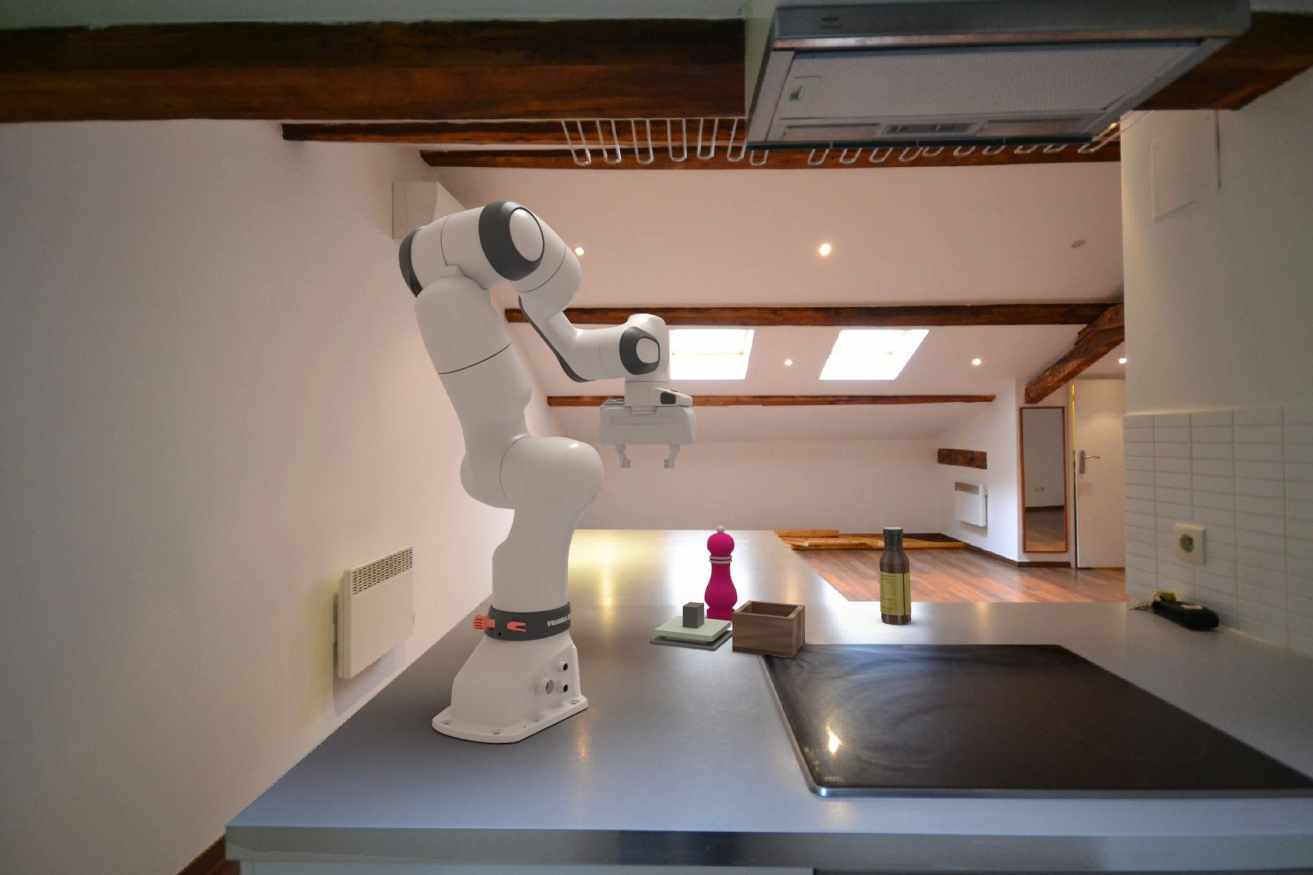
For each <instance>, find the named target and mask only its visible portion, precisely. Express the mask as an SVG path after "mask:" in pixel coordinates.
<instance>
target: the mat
mask: <svg viewBox="0 0 1313 875" xmlns="http://www.w3.org/2000/svg"><path fill="white" fill-rule="evenodd" d="M730 639H732V629H727V630H726V631H725V632H723V633H722V634H721V635H720V636H718V637H717V638H716V639H715V640H714V641H709V642H708V643H698V642H690V641H681V640H672V639H666V636H660V635H655V636H654V637H653V638H651V639H650V640H649V644H654V645H660V646H661V645H662V646H669V647H677V648H685V649H686V648H687V649H693V650H694V649H695V650H700V651H701V650H702V651H711V652H716V651H717V650H718V649H719V648H720V647H722V646H723V645H724V644H725V643H726V642H728V641H729V640H730Z"/></svg>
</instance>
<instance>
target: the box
mask: <svg viewBox="0 0 1313 875" xmlns="http://www.w3.org/2000/svg"><path fill="white" fill-rule="evenodd" d="M731 628H732V629H731V630H732V637H731V641H732V643H731V645H732V647H731V649H732V650H731V652H734V653H739V654H740V653H743V654H750V655H759V656H762V655H761V654H771V655H780V656H786V657H792V658H794V657H795V656H796V655H797V653H798V652H799V651H800V649H801V648H802V647H803V645H804V644H805V643H806V605H805V604H793V603H785V602H783V603H782V602H781V603H780V602H771V601H761V600H747V601H746V602H744V603H743V604H742V605H740V606H739V607H738V608H736V609H735V611H734V612H733V613H732V620H731ZM801 646H802V647H801ZM800 647H801V648H800ZM799 648H800V649H799ZM798 650H799V651H798ZM797 651H798V652H797ZM796 652H797V653H796ZM795 654H796V655H795ZM794 655H795V656H794ZM793 656H794V657H793Z"/></svg>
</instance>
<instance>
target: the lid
mask: <svg viewBox="0 0 1313 875" xmlns="http://www.w3.org/2000/svg"><path fill="white" fill-rule="evenodd" d="M730 627H731V628H732V620H731V621H725V620H715V619H708V618H705V603H704V602H697V601H695V602H694V601H689V602H687V603H686V604H684V605H682V615H676V616H674V617H672V618H671V619H669V620H667V621H665V622H664V623H663V624H661V625H660V626H658V627H656V628H654V629H653V632H654V633H653V634H654V635H655V636H658V635H660V636H666V639H672V640H681V641H690V642H698V643H708V642H709V641H714V640H715V639H716V638H717V637H718V636H720V635H721V634H722V633H723V632H725V631H726V630H729V629H730Z"/></svg>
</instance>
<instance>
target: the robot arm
mask: <svg viewBox="0 0 1313 875" xmlns="http://www.w3.org/2000/svg"><path fill="white" fill-rule="evenodd" d="M398 265H399V268H400V273H401V275H402V277H403V280H404V283H405V284H406V286H407V287H408V289H409V291H411V293H412V294H413V296H414V297H415V300H414V305H413V306H414V308H413V309H414V313H415V314H414V315H415V318H416V321H417V322H416V323H417V326H418V329H419V332H420V335H421V338H422V340H423V344H424V348H425V349H426V352H427V354H428V356H429V359H430V362H431V363H432V365H433V367H434V369H435V372H436V374H437V376H438V378H439V379H440V382H441V384H442V386H443V388H444V390H445V392H446V394H447V396H448V398H449V401H450V402H451V404H452V407H453V409H454V411H455V413H456V416H457V418H458V421H459V423H460V427H461V430H462V431H461V432H462V435H463V436H462V437H463V441H464V445H465V446H464V448H465V449H464V450H465V454H464V455H463V458H462V460H461V463H460V468H459V476H460V477H459V478H460V481H461V482H460V483H461V485H462V487H463V490H464V492H466V494H467V495H468V496H470V497H471V498H472V499H473V500H476V501H478V502H480V503H482V504H485V505H487V506H489V507H491V508H492V507H493V508H495V509H496V508H497V509H504V510H505V509H507V510H514V511H513V512H514V513H513V519H512V522H511V527H510V529H509V533H508V534H507V537H506V538H505V540H504V541H502V542H501V543H499V545H497V546H496V548H495V549H494V551H493V554H492V559H491V574H492V575H491V583H492V584H491V588H492V589H491V590H492V591H491V598H492V599H491V605H490V606H489V609H488V612H487V615H485V616H484V615H481V614H477V615H475V616H474V617H473V619H472V628H473V629H474V630H477V631H478V630H479V631H481V630H483V634H484V636H483V637H482V639H481V641H480V642H479V643H478V644H477V646H476V647H475V649H474V651H473V652H472V653H471V654H470V656H469V657H468V658H467V660H466V661H465V663H464V664H463V666H462V667H461V668H460V670H459V671H458V673H457V674H456V675H455V677H454V679H453V683H452V688H451V696H450V697H451V698H450V700H451V701H450V705H449V706H447V707H446V708H444V709H443V710H442V711H441V712H439V713H438V714H437V715H435V717H433V718H432V722H431V725H432V727H433V729H434V730H436V731H437V732H440V734H444V735H446V736H450V737H454V738H458V739H462V740H468V741H473V742H480V743H491V744H492V743H493V744H494V743H495V744H499V743H501V744H502V743H506V744H507V743H515V742H519V741H521V740H523V739H525V738H528V737H529V736H531V735H534V734H536V733H538V732H541V731H542V730H544V729H546V728H547V727H550V726H552V725H554V724H556V723H558V722H561V721H562V720H564V719H566V718H569V717H571V716H573V715H575V714H576V713H579V712H581V711H584V710H585V709H587V708H588V707H589V706H588V705H589V704H588V699H587V697H586V696H584V694H583V695H582V693H581V690H582V689H581V679H580V668H579V657H578V649H577V647H576V644H574V642H573V640H572V637H571V634H570V631H569V628H570V627H571V626H572V625H571V624H572V621H571V620H572V619H571V618H572V610H571V603H570V601H569V600H568V590H569V588H568V582H569V581H568V580H569V578H568V577H569V575H568V574H569V558H570V557H569V554H570V550H571V549H570V548H571V544H572V540H573V537H574V534H575V530H576V528H577V525H578V523H579V521H580V519H581V517H582V516H583V514H584V513H585V512H586V511H587V509H589V507H591V506H592V505H593V504H594V503H595V502H596V500H597V499H598V498H599V496H600V494H601V492H602V489H603V487H604V481H605V468H604V464H603V460H602V458H601V456H600V454H599V452H598V451H597V450H596V449H595V448H594V447H593V446H592V445H590V444H589V443H587V442H583V441H580V440H576V439H573V438H569V437H566V436H534V435H532V433H531V432H530V431H529V429H528V425H527V422H526V416H525V409H526V408H527V406H528V405H529V403H530V401H531V399H532V396H533V387H532V383H531V382H530V378H529V377H528V374H527V373H526V371H525V368H524V366H523V363H522V361H521V359H520V357H519V355H518V352H517V350H516V348H515V346H514V343H513V341H512V338H511V337H510V334H509V333H508V330H507V328H506V327H505V325H504V323H503V321H502V319H501V317H500V315H499V313H498V312H497V310H496V308H495V307H494V304H492V299H491V297H492V296H491V290H494V289H497V288H498V287H501V286H503V285H504V286H505V285H506V284H508V285H509V287H511V289H512V290H514V292H515V293H516V294H518V295H517V296H518V297H517V299H518V300H517V302H518V306H519V308H520V310H521V312H522V314H523V316H524V317H525V318H526V320H527V321H528V323H529V324H530V325H531V327H532V328H533V330H534V331H535V332H536V333H537V334H538V335H539V337H540V338H541V339H542V340H543V342H544V343H545V344H546V345H547V346H548V348H549V349H550V351H552V353H553V354H554V355H555V357H556V359H557V361H558V363H559V365H560V367H561V369H562V370H563V372H564V373H565V375H566V376H567V377H568V378H569V379H571V381H573V382H575V383H581V384H583V383H588V382H594V381H600V380H602V381H603V380H604V381H605V380H615V379H616V380H617V379H624V389H623V390H624V391H623V392H624V398H617V399H613V398H609V399H606V400H605V401H603V403H601V405H600V407H599V418H600V419H599V427H598V441H599V443H600V444H601V445H602V446H613V445H614V451H615V453H616V456H618V458H619V460H620V461H619V462H620V468H621V469H629V468H630V469H631V463H632V460H631V458H627V456H626V454H625V452H624V451H626V450H627V447H626V446H629V445H630V446H631V445H632V446H637V445H647V446H648V445H654V446H655V445H657V446H658V445H659V446H662V445H665V446H666V445H667V446H668V450H669V451H670V454H669V456H668V458H667V459H663V463H664V464H663V467H664V469H675V460H676V458H677V456H678V455H679V452H680V449H681V448H680V446H681V445H688V446H689V445H695V443H696V442H697V440H698V422H697V417H696V416H697V415H696V413H695V411H694V410H693V408H692V406H693V402H694V401H693V400H694V399H693V397H692V396H690V395H688V394H685V393H682V392H679V391H677V390H674V389H670V380H669V376H668V366H669V363H670V352H669V350H670V347H669V335H668V329H667V325H666V322H665V320H664V319H663V318H662V317H660V316H658V315H655V314H651V313H650V314H649V313H645V312H643V313H634V314H631V315H629V316H628V318H627V321H626V322H625V323H622V324H620V325H618V326H613V327H605V328H596V329H582V328H577V327H575V326H574V325H573V324H572V323H571V322H570V320H569V319H568V318H567V316H566V315H565V313H564V312H563V311H565V310H566V309H567V308H568V307H570V305H571V304H572V303H573V301H574V300H575V298H576V297H577V295H578V293H579V291H580V289H581V285H582V279H583V278H582V277H583V275H582V274H583V272H582V266H581V263H580V262H579V260H578V257H577V256H576V255H575V254H574V252H573V250H571V249H570V247H569V246H568V245H567V243H566V242H564V240H563V239H562V238H561V237H560V236H559V235H558V234H557V233H556V231H554V229H552V228H551V227H550V225H549V224H547V223H546V222H545V221H544V220H543V219H542V218H541V217H539V216H538V215H537V214H535V213H534V212H533V211H531V210H530V209H529V208H527V206H524V205H523V204H521V203H519V202H516V201H511V200H502V201H501V200H500V201H494V202H489V203H488V204H486V205H485V206H480V207H475V208H471V209H468V210H463V211H461V212H460V211H456V212H453V213H450V214H448V215H446V216H443V217H440V218H438V219H437V220H434V221H433V222H431V223H429V224H427V225H421V226H419V227H417V228H416V229H414V230H413V231H411V232H410V233H409V234H407V235H406V236H405V237H404V239H403V240H402V241H401V243H400V245H399V248H398Z"/></svg>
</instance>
